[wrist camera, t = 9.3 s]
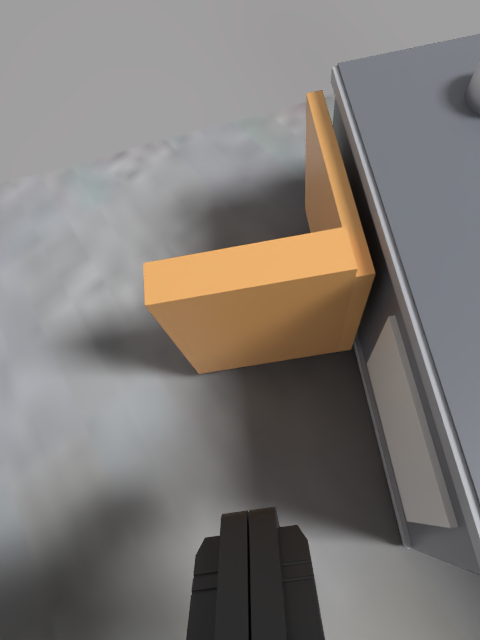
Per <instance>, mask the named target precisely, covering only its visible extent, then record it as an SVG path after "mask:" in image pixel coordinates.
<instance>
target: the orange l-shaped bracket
mask: <svg viewBox="0 0 480 640" xmlns="http://www.w3.org/2000/svg"><path fill="white" fill-rule="evenodd" d="M305 211H306V215H307V220H308V224H309V228H310V233H308V234H302V235H297V236H291V237H286V238H280V239H274V240H269V241H263V242H258V243H252V244H247V245H241V246H236V247H230V248H225V249H219V250H213V251H208V252H202V253H197V254H191V255H186V256H180V257H175V258H169V259H164V260H158V261H152V262H147V263H143V268H144V294H145V306H146V307H147V309H148V310H149V311H150V313H151V314H152V315H153V316H154V318H155V319H156V320H157V321H158V323H159V324H160V325H161V327H162V328H163V329H164V330H165V332H166V333H167V334H168V335H169V337H170V338H171V339H172V341H173V342H174V343H175V344H176V346H177V347H178V348H179V349H180V351H181V352H182V353H183V354H184V356H185V357H186V358H187V360H188V361H189V362H190V363H191V365H192V366H193V367H194V368H195V370H196V371H197V372H198V374H202V373H208V372H214V371H221V370H227V369H233V368H239V367H246V366H252V365H258V364H264V363H271V362H277V361H283V360H289V359H296V358H302V357H308V356H314V355H320V354H327V353H333V352H339V351H345V350H351V349H352V346H353V343H354V339H355V336H356V333H357V330H358V327H359V324H360V321H361V318H362V314H363V311H364V308H365V305H366V302H367V299H368V296H369V293H370V289H371V286H372V283H373V280H374V277H375V274H376V273H375V270H374V266H373V263H372V259H371V256H370V253H369V249H368V246H367V242H366V239H365V235H364V232H363V228H362V225H361V222H360V218H359V215H358V211H357V208H356V204H355V201H354V197H353V194H352V191H351V187H350V184H349V180H348V177H347V173H346V170H345V167H344V163H343V160H342V156H341V153H340V149H339V146H338V142H337V139H336V136H335V132H334V129H333V125H332V122H331V118H330V115H329V112H328V108H327V105H326V101H325V98H324V95H323V91H322V90H320V91H315V92H311V93H307V94H306V170H305Z"/></svg>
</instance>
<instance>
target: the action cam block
mask: <svg viewBox="0 0 480 640" xmlns="http://www.w3.org/2000/svg"><path fill="white" fill-rule="evenodd" d="M331 75H332V76H331V84H332V87H333V90H334V94H335V104H334V116H333V129H334V132H335V136H336V139H337V142H338V146H339V149H340V153H341V156H342V160H343V163H344V167H345V170H346V173H347V177H348V180H349V184H350V187H351V191H352V194H353V197H354V201H355V204H356V208H357V211H358V215H359V218H360V222H361V225H362V228H363V232H364V235H365V239H366V242H367V246H368V249H369V253H370V256H371V259H372V263H373V266H374V270H375V273H376V274H375V277H374V280H373V283H372V286H371V289H370V293H369V296H368V299H367V302H366V305H365V308H364V311H363V314H362V318H361V321H360V324H359V327H358V330H357V333H356V336H355V339H354V343H353V344H354V349H355V353H356V357H357V361H358V365H359V369H360V373H361V377H362V381H363V385H364V389H365V393H366V397H367V401H368V405H369V409H370V413H371V417H372V421H373V425H374V429H375V433H376V437H377V441H378V445H379V449H380V454H381V458H382V462H383V466H384V470H385V474H386V478H387V482H388V486H389V490H390V494H391V498H392V502H393V506H394V510H395V514H396V518H397V522H398V526H399V530H400V534H401V538H402V542H403V546H404V548H406V549H412V548H413V549H415V550H418V551H420V552H423V553H425V554H428V555H430V556H433V557H435V558H438V559H441V560H443V561H446V562H448V563H451V564H453V565H456V566H458V567H461V568H463V569H466V570H468V571H471V572H473V573H476V574H478V575H480V34H477V35H472V36H467V37H463V38H458V39H453V40H448V41H443V42H438V43H434V44H429V45H424V46H419V47H414V48H409V49H405V50H400V51H395V52H390V53H386V54H380V55H376V56H371V57H366V58H361V59H357V60H351V61H347V62H342V63H338V66H335V67H332V74H331Z"/></svg>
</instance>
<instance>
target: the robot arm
mask: <svg viewBox="0 0 480 640" xmlns="http://www.w3.org/2000/svg"><path fill="white" fill-rule="evenodd" d="M186 640H325V637H324V631H323V625H322V620H321V614H320V608H319V602H318V596H317V590H316V584H315V579H314V573H313V568H312V562H311V556H310V551H309V545H308V540H307V539H306V537H305V536H304V534H303V533H302V531H301V530H300V528H299V527H298V526H297V525H293V526H286V527H280V526H279V521H278V516H277V511H276V508H275V507H270V508H263V509H256V510H250V511H249V512H248V511H241V512H234V513H227V514H222V516H221V528H220V536H214V537H207V538H205V539H204V541H203V543H202V545H201V547H200V548H199V550H198V552H197V554H196V558H195V567H194V579H193V585H192V595H191V602H190V611H189V620H188V629H187V637H186Z"/></svg>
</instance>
